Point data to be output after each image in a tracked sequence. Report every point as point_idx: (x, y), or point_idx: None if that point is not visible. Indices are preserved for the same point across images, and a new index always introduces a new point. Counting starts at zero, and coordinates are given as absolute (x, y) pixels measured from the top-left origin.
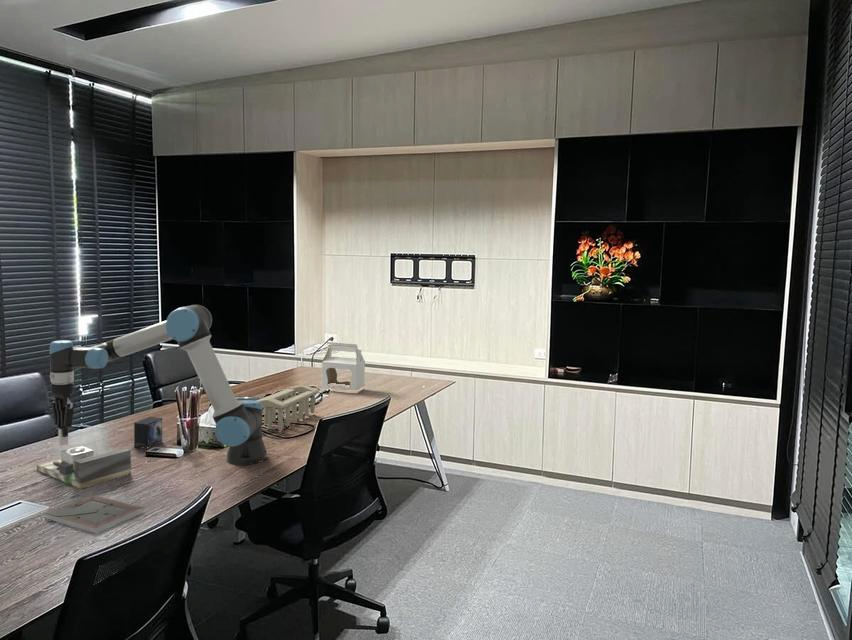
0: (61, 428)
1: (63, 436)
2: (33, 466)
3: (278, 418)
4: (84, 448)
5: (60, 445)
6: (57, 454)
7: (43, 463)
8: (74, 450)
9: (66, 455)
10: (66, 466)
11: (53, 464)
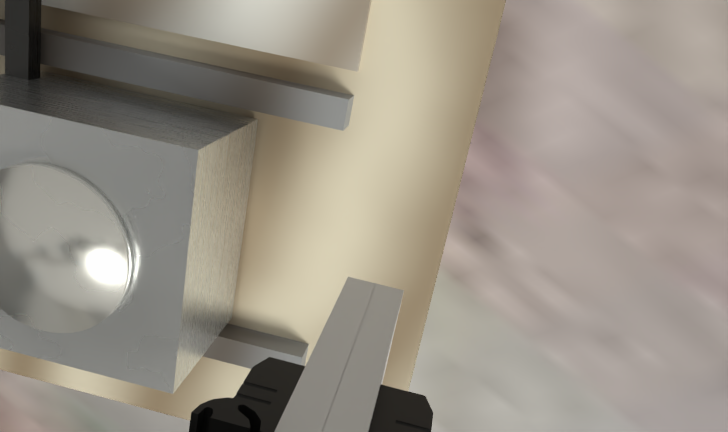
0: (205, 425)
1: (277, 364)
2: (636, 61)
3: None
4: (16, 315)
5: (354, 279)
6: (714, 414)
7: (467, 62)
8: (35, 213)
9: (78, 112)
10: None
11: (339, 88)
